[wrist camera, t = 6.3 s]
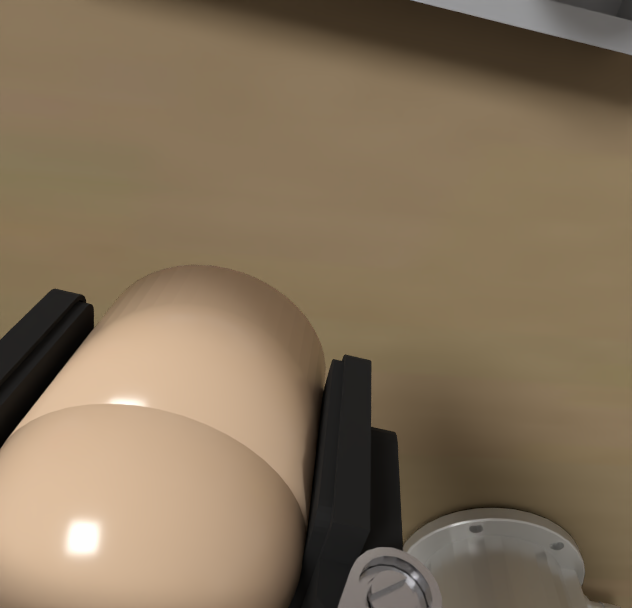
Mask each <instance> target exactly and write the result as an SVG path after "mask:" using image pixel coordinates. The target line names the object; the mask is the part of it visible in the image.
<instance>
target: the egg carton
mask: <svg viewBox="0 0 632 608" xmlns="http://www.w3.org/2000/svg"><path fill="white" fill-rule="evenodd" d="M412 1H416V2H420V3H424V4H428V5H433V6H437V7H441V8H445V9H449V10H453V11H457V12H461V13H465V14H469V15H473V16H477V17H481V18H485V19H489V20H493V21H497V22H501V23H505V24H509V25H513V26H517V27H521V28H525V29H529V30H533V31H537V32H541V33H545V34H549V35H553V36H557V37H561V38H565V39H569V40H573V41H577V42H581V43H585V44H589V45H593V46H597V47H601V48H605V49H609V50H613V51H617V52H621V53H625V54H629V55H632V0H412Z"/></svg>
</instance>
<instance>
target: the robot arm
mask: <svg viewBox="0 0 632 608" xmlns="http://www.w3.org/2000/svg"><path fill="white" fill-rule="evenodd" d="M93 329H94V308H93V305H91V304H88V303H86V299H85V296H83V295H81V294H76V293H72V292H68V291H63V290H59V289H53V290H51V291H50V292H49V293H48V294H47V295H46V296H45V297H44V298H43V299H41V300H40V301H39V302H38V303H37V304H36V305H35V306H34V307H33V308H32V309H31V310H30V311H29V312H28V313H27V314H26V315H25V316H24V317H23V318H22V319H21V320H20V321H19V322H18V323H17V324H16V325H15V326H14V327H13V328H12V329H11V330H10V331H9V332H8V333H7V334H6V335H5V336H4V337H3V338H2V339H1V340H0V449H1V447H2V446H3V444H4V443H5V441H6V440H7V439H8V437H9V436H10V435H11V434H12V432H13V431H14V430H15V428H16V427H17V426H18V425H19V423H20V422H21V421H22V420H23V418H24V417H25V416H26V414H27V413H28V412H29V411H30V409H31V408H32V407H33V405H34V404H35V403H36V402H37V400H38V399H39V398H40V397H41V395H42V394H43V393H44V391H45V390H46V389H47V388H48V386H49V385H50V384H51V382H52V381H53V380H54V379H55V377H56V376H57V375H58V373H59V372H60V371H61V370H62V368H63V367H64V366H65V365H66V363H67V362H68V361H69V359H70V358H71V357H72V356H73V354H74V353H75V352H76V350H77V349H78V348H79V347H80V345H81V344H82V343H83V341H84V340H85V339H86V338H87V336H88V335H89V334H90V333H91V331H92V330H93ZM584 575H585V569H584V562H583V559H582V556H581V554H580V551H579V548H578V546H577V544H576V543H575V541H574V540H573V538H572V537H571V536H570V535H569V534H568V533H567V532H566V531H565V530H564V529H563V528H561V527H560V526H558V525H557V524H555V523H553V522H551V521H550V520H548V519H546V518H543V517H540V516H538V515H535V514H532V513H529V512H524V511H519V510H515V509H505V508H476V509H470V510H464V511H458V512H455V513H452V514H449V515H445V516H442V517H440V518H438V519H436V520H434V521H431V522H429V523H427V524H426V525H424V526H423V527H422V528H420V529H419V530H417V531H416V532H415V533H414V534H413V535H412V536H411V537H410V538H409V539H408V540H407V541H406V543H405V544H404V546H403V541H402V521H401V501H400V481H399V461H398V442H397V435H396V433H395V432H392V431H387V430H383V429H378V428H374V427H371V361H370V360H367V359H362V358H358V357H353V356H349V355H344V357H343V359H342V361H339V360H335V359H333V360H332V363H331V366H330V370H329V373H328V377H327V380H326V384H325V387H324V391H323V398H322V407H321V415H320V424H319V433H318V441H317V450H316V458H315V467H314V476H313V484H312V493H311V501H310V510H309V519H308V527H307V535H306V542H305V548H304V555H303V560H302V570H301V575H300V579H299V582H298V585H297V588H296V591H295V594H294V597H293V599H292V601H291V603H290V606H289V608H621V607H619V606H617V605H613V604H609V603H604V602H594V601H589V599H588V598H587V596H586V595H584V594H583V591H582V588H581V586H582V584H583V580H584Z"/></svg>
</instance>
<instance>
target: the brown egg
mask: <svg viewBox="0 0 632 608" xmlns="http://www.w3.org/2000/svg"><path fill="white" fill-rule="evenodd" d="M325 370H326V366H325V359H324V353H323V350H322V346H321V343H320V341H319V338H318V336H317V334H316V332H315V330H314V328H313V327H312V325H311V324H310V322H309V321H308V319H307V318H306V316H305V315H304V314H303V313H302V312H301V311H300V309H299V308H298V307H297V306H296V305H295V304H294V303H293V302H291V301H290V300H289V299H288V298H287V297H286V296H285V295H283V294H282V293H280V292H279V291H278V290H276V289H275V288H273V287H272V286H270V285H268V284H266V283H265V282H263V281H261V280H259V279H257V278H254V277H252V276H250V275H247V274H245V273H242V272H238V271H235V270H232V269H228V268H223V267H217V266H210V265H184V266H176V267H171V268H166V269H162V270H160V271H157V272H154V273H151V274H149V275H147V276H145V277H143V278H141V279H139V280H137V281H136V282H135V283H133V284H132V285H131V286H129V287H128V288H127V289H126V290H125V291H124V292H123V293H122V294H121V295H120V296H119V297H118V298H117V299H116V301H115V302H114V303H113V304H112V306H111V307H110V308H109V309H108V311H107V312H106V313H105V315H104V316H103V317H102V318H101V320H100V321H99V322H98V324H97V325H96V326H95V327H94V329H93V330H92V331H91V333H90V334H89V335H88V336H87V338H86V339H85V340H84V341H83V343H82V344H81V345H80V347H79V348H78V349H77V350H76V352H75V353H74V354H73V356H72V357H71V358H70V359H69V361H68V362H67V363H66V365H65V366H64V367H63V368H62V370H61V371H60V372H59V373H58V375H57V376H56V377H55V379H54V380H53V381H52V382H51V384H50V385H49V386H48V388H47V389H46V390H45V391H44V393H43V394H42V395H41V397H40V398H39V399H38V400H37V402H36V403H35V404H34V405H33V407H32V408H31V409H30V411H29V412H28V413H27V414H26V416H25V417H24V418H23V420H22V421H21V422H20V423H19V425H18V426H17V427H16V428H15V430H14V431H13V432H12V434H11V435H10V436H9V437H8V439H7V440H6V441H5V443H4V444H3V446H2V447H1V449H0V608H289V606H290V603H291V601H292V599H293V597H294V594H295V591H296V588H297V585H298V582H299V579H300V575H301V570H302V560H303V555H304V548H305V542H306V535H307V527H308V519H309V510H310V501H311V493H312V484H313V476H314V467H315V458H316V450H317V441H318V433H319V424H320V415H321V407H322V398H323V391H324V385H325Z"/></svg>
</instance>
